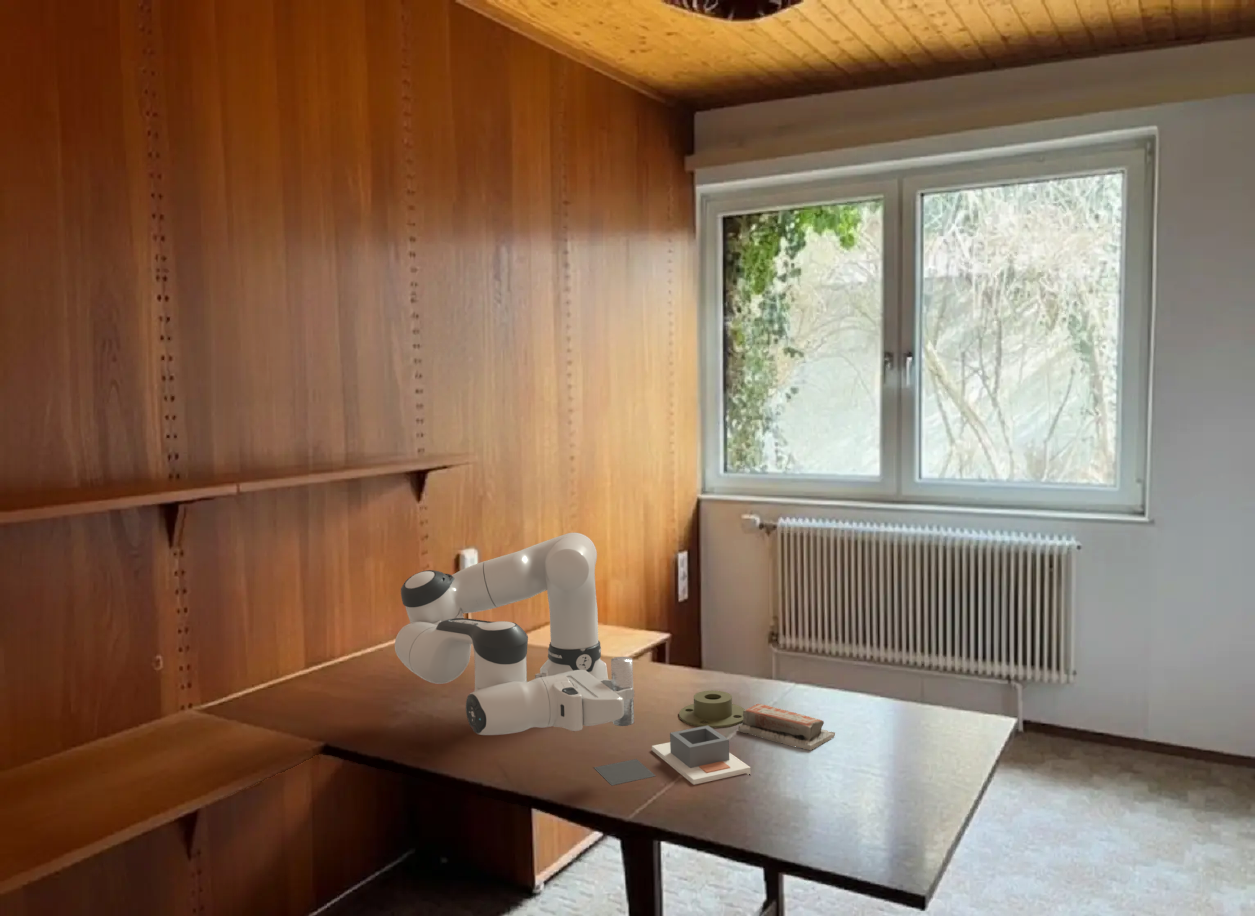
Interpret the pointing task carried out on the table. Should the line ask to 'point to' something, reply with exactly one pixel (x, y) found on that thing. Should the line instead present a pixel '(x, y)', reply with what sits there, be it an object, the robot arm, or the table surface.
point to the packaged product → (784, 726)
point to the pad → (624, 772)
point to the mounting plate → (700, 755)
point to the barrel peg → (623, 686)
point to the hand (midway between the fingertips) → (626, 688)
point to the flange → (712, 710)
